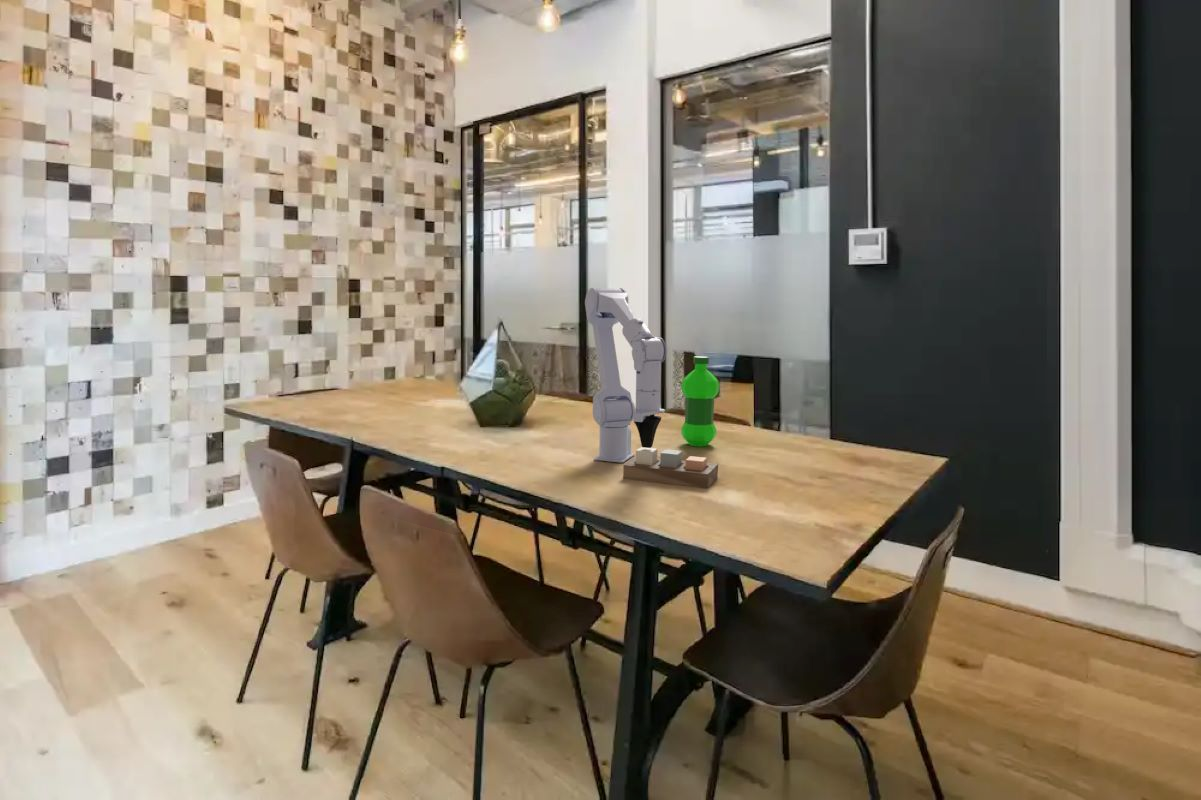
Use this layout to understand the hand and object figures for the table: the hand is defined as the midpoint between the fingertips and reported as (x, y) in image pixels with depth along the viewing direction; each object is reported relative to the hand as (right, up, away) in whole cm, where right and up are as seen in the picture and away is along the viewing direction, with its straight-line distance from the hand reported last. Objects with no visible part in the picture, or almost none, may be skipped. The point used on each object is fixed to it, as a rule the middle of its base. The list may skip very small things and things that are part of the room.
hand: (646, 447), depth 168 cm
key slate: (+6, -5, -2) cm, 7 cm away
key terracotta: (+11, -6, -4) cm, 13 cm away
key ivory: (0, -4, +1) cm, 4 cm away
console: (+6, -7, -1) cm, 9 cm away
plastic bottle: (+17, -2, +35) cm, 39 cm away
